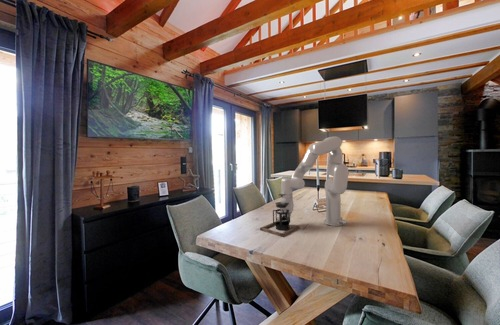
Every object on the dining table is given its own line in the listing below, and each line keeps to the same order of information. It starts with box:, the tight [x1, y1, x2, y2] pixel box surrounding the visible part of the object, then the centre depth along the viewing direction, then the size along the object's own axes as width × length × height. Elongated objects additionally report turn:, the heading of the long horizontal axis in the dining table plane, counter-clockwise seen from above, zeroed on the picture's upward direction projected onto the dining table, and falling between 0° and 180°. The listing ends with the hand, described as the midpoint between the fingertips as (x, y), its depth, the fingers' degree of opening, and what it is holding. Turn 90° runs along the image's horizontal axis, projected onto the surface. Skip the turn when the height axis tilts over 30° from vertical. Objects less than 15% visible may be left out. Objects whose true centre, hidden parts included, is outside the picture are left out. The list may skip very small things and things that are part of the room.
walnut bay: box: [259, 221, 301, 238], centre depth 142 cm, size 18×20×2 cm
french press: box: [272, 193, 291, 232], centre depth 143 cm, size 12×9×23 cm
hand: (287, 222), depth 149 cm, fingers closed
